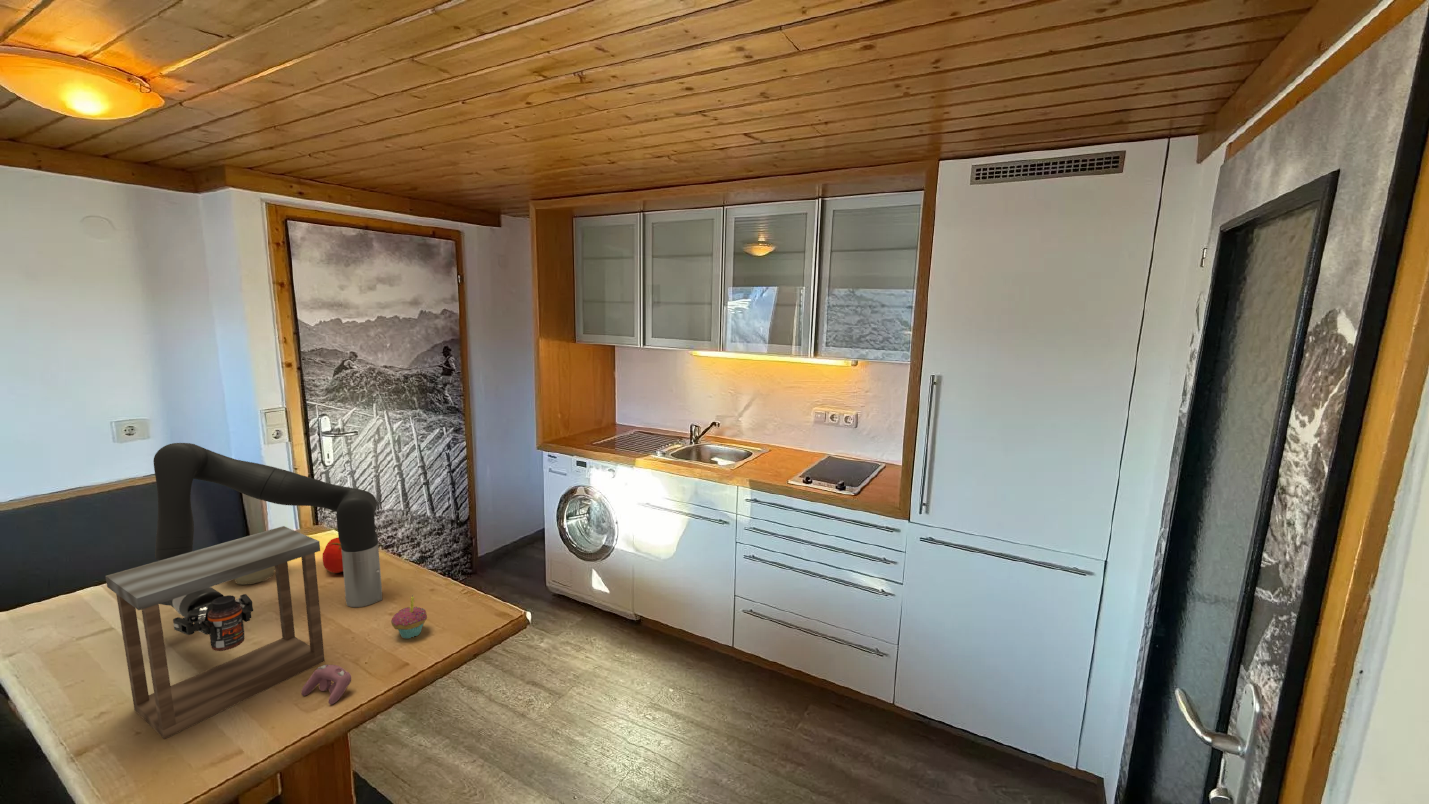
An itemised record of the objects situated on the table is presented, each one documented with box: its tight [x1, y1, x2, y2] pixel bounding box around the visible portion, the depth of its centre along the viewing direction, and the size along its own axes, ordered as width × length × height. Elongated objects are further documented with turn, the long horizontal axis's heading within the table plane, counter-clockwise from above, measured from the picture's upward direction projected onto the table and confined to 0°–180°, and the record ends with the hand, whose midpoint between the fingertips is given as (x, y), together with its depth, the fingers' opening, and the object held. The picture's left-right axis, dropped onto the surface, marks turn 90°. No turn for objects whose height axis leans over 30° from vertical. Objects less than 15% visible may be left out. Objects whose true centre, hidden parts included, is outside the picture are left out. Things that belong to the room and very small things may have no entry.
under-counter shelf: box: [105, 525, 326, 740], centre depth 128 cm, size 17×32×32 cm, turn 151°
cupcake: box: [390, 594, 428, 639], centre depth 152 cm, size 9×8×12 cm
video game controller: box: [300, 664, 352, 705], centre depth 129 cm, size 10×5×7 cm, turn 72°
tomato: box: [322, 537, 343, 574], centre depth 187 cm, size 14×13×10 cm
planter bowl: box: [234, 566, 275, 585], centre depth 179 cm, size 16×16×11 cm
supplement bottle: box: [208, 594, 246, 652], centre depth 129 cm, size 6×6×11 cm
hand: (230, 623), depth 128 cm, fingers closed on supplement bottle, 6 cm apart
